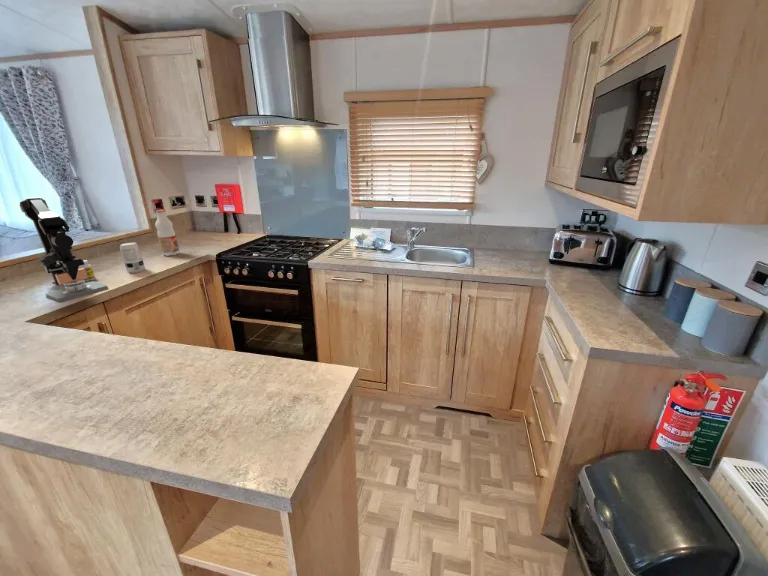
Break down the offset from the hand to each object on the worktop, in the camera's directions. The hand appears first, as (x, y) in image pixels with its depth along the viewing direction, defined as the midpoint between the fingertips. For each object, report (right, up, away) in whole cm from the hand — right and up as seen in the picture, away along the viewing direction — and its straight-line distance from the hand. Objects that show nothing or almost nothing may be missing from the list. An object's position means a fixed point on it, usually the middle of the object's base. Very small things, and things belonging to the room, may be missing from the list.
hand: (73, 279), depth 151 cm
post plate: (0, -6, +2) cm, 6 cm away
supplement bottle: (-10, 0, +20) cm, 22 cm away
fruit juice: (+5, +17, +63) cm, 66 cm away
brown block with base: (0, -5, +2) cm, 5 cm away
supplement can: (+5, +5, +32) cm, 33 cm away
